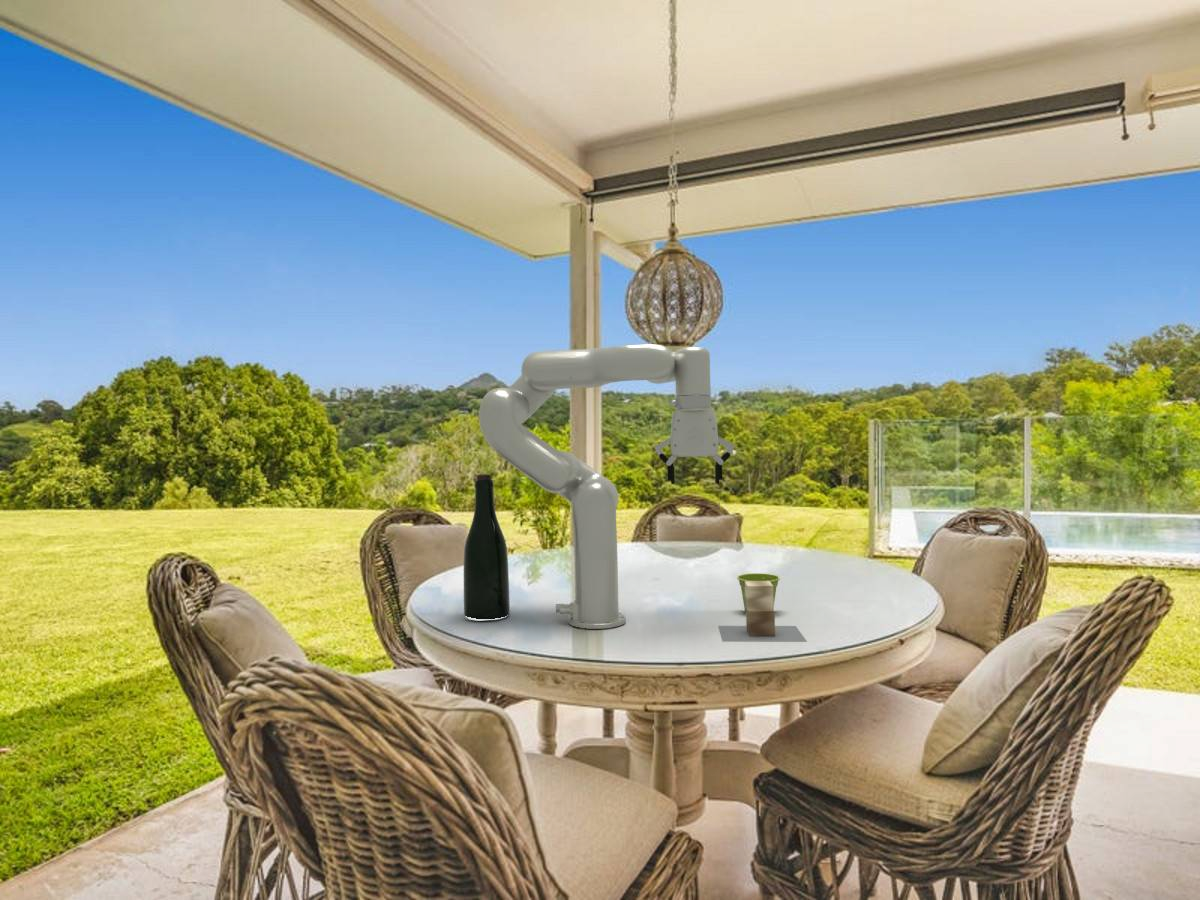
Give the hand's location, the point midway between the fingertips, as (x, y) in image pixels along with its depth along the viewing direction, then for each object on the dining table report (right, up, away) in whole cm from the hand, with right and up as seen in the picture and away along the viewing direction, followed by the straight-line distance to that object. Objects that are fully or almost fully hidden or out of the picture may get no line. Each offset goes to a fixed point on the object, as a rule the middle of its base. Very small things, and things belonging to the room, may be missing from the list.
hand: (695, 483), depth 157 cm
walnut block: (+12, -30, -12) cm, 34 cm away
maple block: (+11, -25, -12) cm, 30 cm away
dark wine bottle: (-47, -32, +9) cm, 57 cm away
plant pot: (+15, -30, +6) cm, 34 cm away
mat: (+12, -30, -12) cm, 34 cm away
